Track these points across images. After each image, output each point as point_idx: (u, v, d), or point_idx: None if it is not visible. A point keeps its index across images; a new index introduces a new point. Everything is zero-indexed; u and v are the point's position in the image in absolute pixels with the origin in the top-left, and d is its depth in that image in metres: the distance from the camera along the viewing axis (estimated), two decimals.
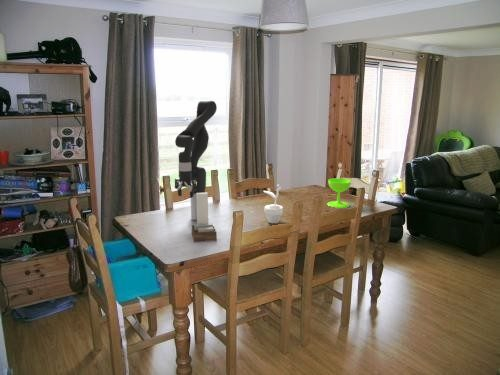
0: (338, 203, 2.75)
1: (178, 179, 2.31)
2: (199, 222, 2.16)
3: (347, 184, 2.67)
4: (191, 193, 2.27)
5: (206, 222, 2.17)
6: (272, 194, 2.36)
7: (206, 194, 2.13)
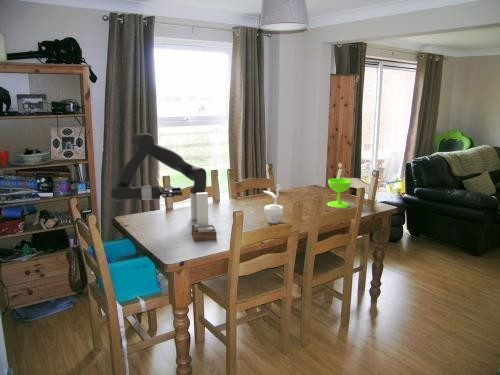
0: (338, 203, 2.75)
1: None
2: (199, 222, 2.16)
3: (347, 184, 2.67)
4: (177, 195, 2.05)
5: (206, 222, 2.17)
6: (272, 194, 2.36)
7: (206, 194, 2.13)
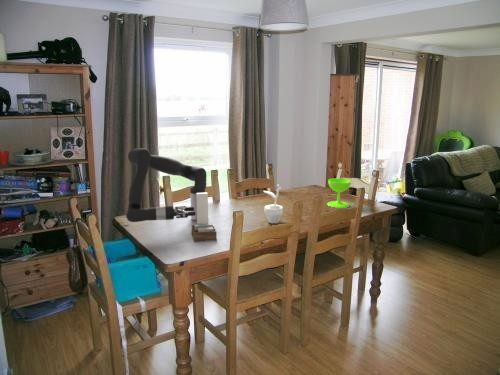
0: (338, 203, 2.75)
1: None
2: (199, 222, 2.16)
3: (347, 184, 2.67)
4: (190, 215, 2.10)
5: (206, 222, 2.17)
6: (272, 194, 2.36)
7: (206, 194, 2.13)
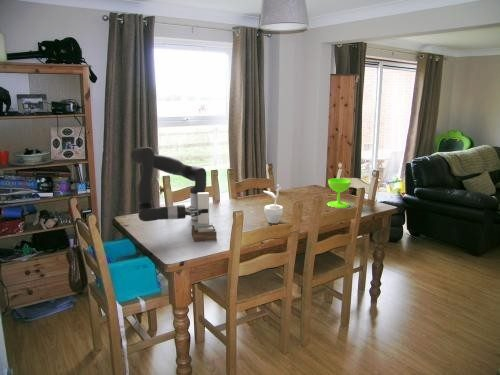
0: (338, 203, 2.75)
1: None
2: (200, 222, 2.16)
3: (347, 184, 2.67)
4: (203, 212, 2.14)
5: (207, 222, 2.17)
6: (272, 194, 2.36)
7: (207, 194, 2.13)
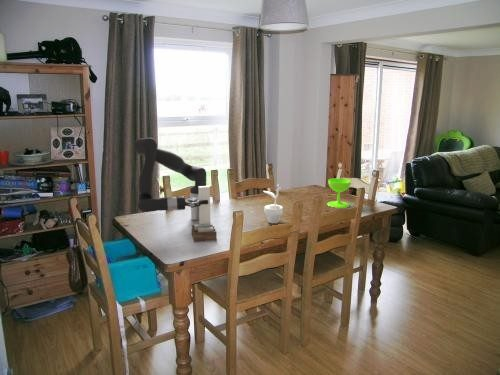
0: (338, 203, 2.75)
1: None
2: (201, 216, 2.15)
3: (347, 184, 2.67)
4: (203, 203, 2.13)
5: (208, 216, 2.16)
6: (272, 194, 2.36)
7: (208, 188, 2.12)
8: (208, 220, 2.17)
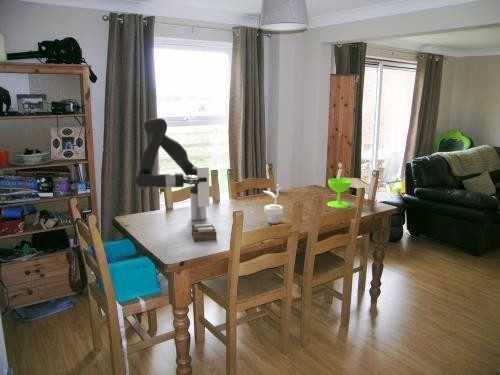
0: (338, 203, 2.75)
1: None
2: (200, 196, 2.12)
3: (347, 184, 2.67)
4: (202, 181, 2.10)
5: (207, 196, 2.13)
6: (272, 194, 2.36)
7: (207, 168, 2.10)
8: (207, 201, 2.14)
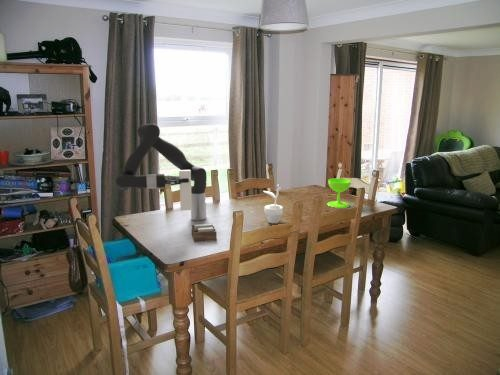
0: (338, 203, 2.75)
1: None
2: (182, 200, 2.10)
3: (347, 184, 2.67)
4: (184, 182, 2.08)
5: (189, 200, 2.11)
6: (272, 194, 2.36)
7: (189, 171, 2.08)
8: (189, 205, 2.12)
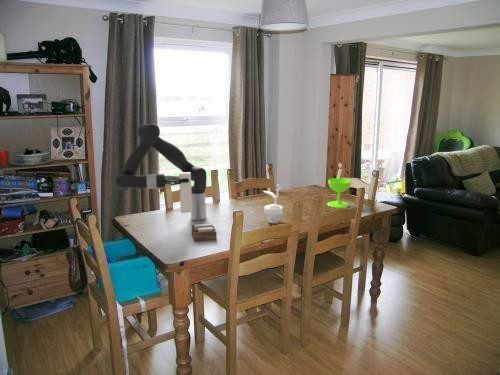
0: (338, 203, 2.75)
1: None
2: (182, 203, 2.11)
3: (347, 184, 2.67)
4: (184, 182, 2.08)
5: (189, 203, 2.12)
6: (272, 194, 2.36)
7: (189, 174, 2.08)
8: (189, 207, 2.12)
